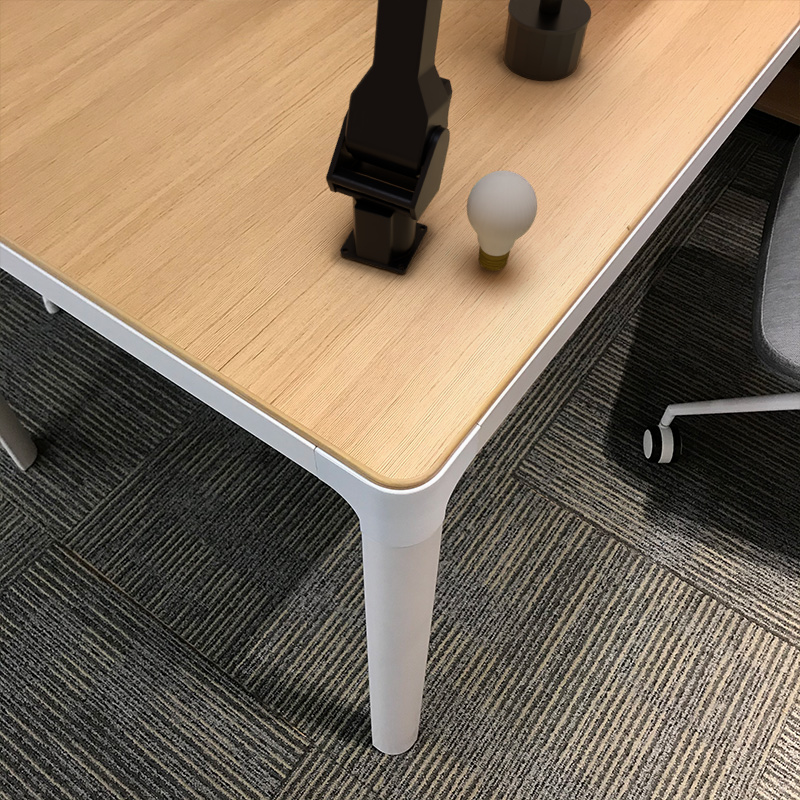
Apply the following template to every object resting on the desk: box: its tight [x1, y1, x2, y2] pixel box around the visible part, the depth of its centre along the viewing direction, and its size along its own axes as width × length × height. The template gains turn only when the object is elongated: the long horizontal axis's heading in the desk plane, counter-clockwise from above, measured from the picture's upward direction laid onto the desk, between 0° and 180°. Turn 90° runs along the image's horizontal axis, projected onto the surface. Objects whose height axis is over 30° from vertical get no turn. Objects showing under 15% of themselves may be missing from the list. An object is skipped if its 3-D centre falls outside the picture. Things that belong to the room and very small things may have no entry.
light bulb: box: [466, 170, 538, 272], centre depth 66 cm, size 6×6×10 cm
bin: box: [502, 12, 589, 82], centre depth 88 cm, size 9×9×6 cm
